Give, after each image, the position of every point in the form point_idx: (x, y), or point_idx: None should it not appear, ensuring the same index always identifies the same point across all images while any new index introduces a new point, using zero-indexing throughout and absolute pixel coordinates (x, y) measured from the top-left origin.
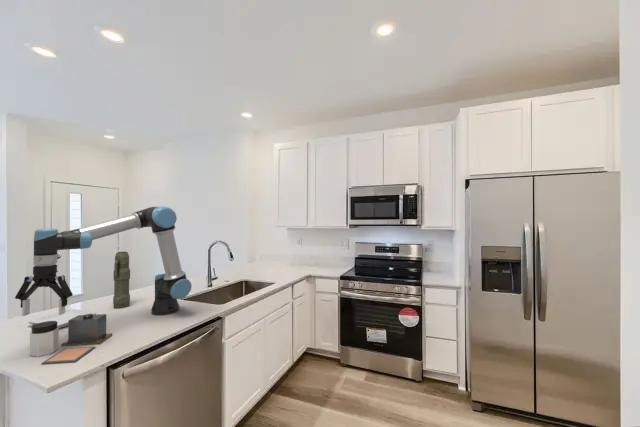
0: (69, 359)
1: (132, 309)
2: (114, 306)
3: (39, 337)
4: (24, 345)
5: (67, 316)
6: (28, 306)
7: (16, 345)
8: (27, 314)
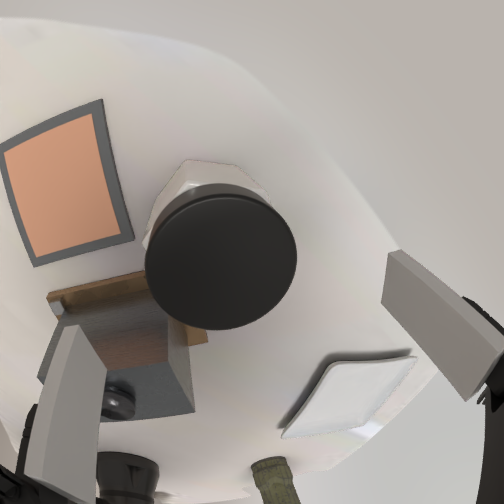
0: (19, 148)
1: (224, 463)
2: (279, 460)
3: (183, 179)
4: (343, 253)
5: (355, 407)
6: (427, 338)
7: (368, 250)
8: (385, 286)
